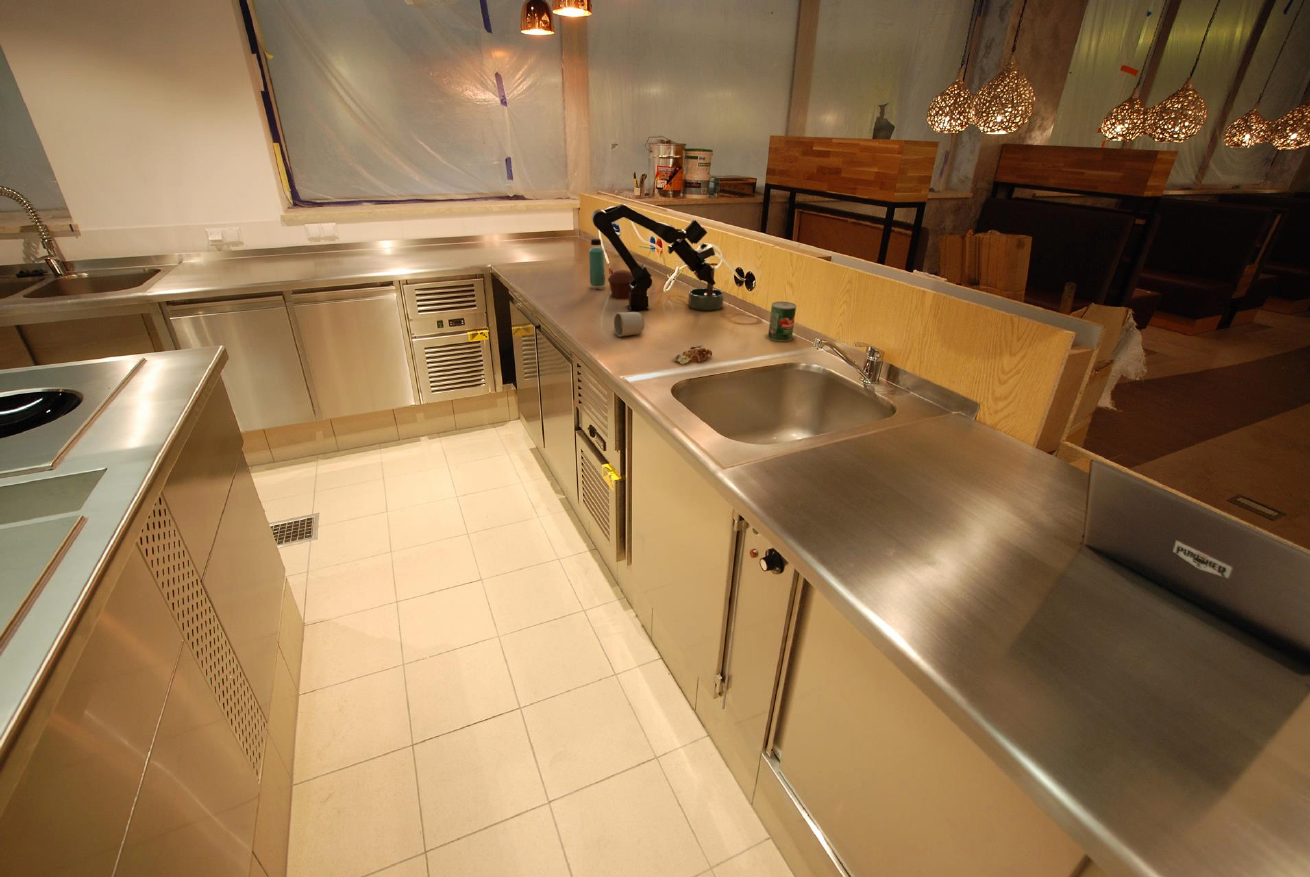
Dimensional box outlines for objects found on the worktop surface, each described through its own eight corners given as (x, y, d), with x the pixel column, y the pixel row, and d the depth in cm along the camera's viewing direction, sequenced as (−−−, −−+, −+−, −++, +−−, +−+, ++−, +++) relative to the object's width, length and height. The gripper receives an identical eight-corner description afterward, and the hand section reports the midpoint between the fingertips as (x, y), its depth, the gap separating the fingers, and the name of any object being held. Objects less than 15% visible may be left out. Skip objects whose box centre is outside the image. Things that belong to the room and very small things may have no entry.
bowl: (695, 312, 214) (696, 297, 211) (683, 303, 225) (684, 289, 222) (728, 310, 217) (729, 295, 215) (714, 301, 228) (715, 287, 226)
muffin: (632, 291, 239) (632, 267, 234) (640, 298, 230) (640, 273, 225) (605, 293, 236) (604, 268, 231) (611, 300, 227) (611, 274, 222)
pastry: (670, 360, 169) (670, 348, 168) (697, 351, 177) (698, 340, 175) (687, 367, 165) (688, 355, 163) (715, 357, 172) (715, 346, 171)
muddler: (714, 303, 218) (716, 269, 212) (702, 302, 219) (704, 268, 213) (715, 300, 222) (718, 266, 216) (704, 299, 223) (706, 265, 217)
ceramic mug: (645, 336, 189) (645, 313, 185) (623, 339, 185) (622, 316, 181) (631, 327, 197) (630, 305, 193) (609, 330, 193) (608, 308, 190)
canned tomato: (787, 343, 185) (791, 309, 180) (764, 338, 188) (767, 305, 183) (795, 336, 191) (800, 303, 185) (773, 332, 194) (777, 300, 189)
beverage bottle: (603, 290, 240) (601, 240, 231) (587, 289, 241) (585, 239, 232) (607, 286, 246) (606, 238, 236) (592, 285, 247) (590, 237, 237)
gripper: (709, 241, 201) (736, 273, 207) (697, 233, 217) (723, 262, 224) (685, 264, 203) (713, 295, 210) (676, 254, 219) (702, 283, 226)
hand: (713, 283), depth 217 cm, fingers closed on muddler, 2 cm apart
